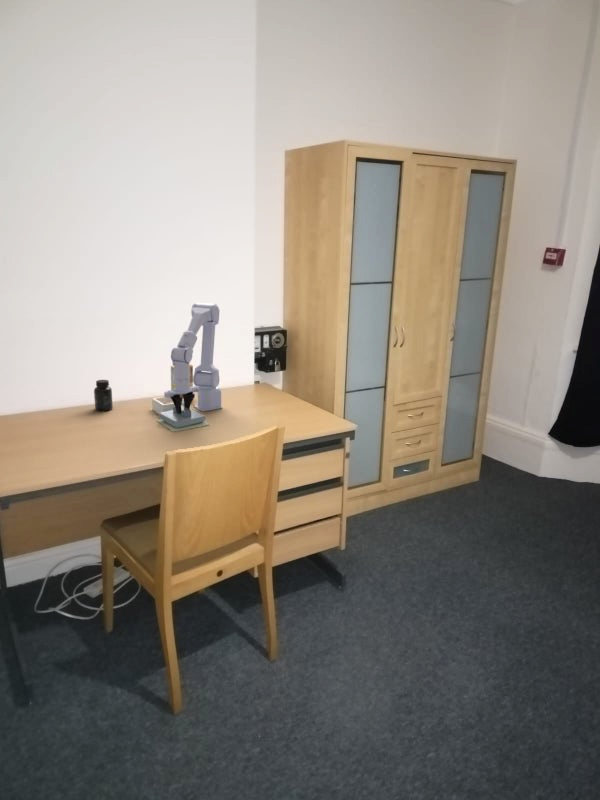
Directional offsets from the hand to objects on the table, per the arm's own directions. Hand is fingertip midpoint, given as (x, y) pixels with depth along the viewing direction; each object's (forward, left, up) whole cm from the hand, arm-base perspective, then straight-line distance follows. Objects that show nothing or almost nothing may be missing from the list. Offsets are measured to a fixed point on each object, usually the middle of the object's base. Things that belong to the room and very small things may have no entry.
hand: (182, 412), depth 220 cm
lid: (0, -1, -3) cm, 3 cm away
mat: (0, 0, -4) cm, 4 cm away
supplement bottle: (+20, -32, -5) cm, 38 cm away
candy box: (-14, -30, -5) cm, 33 cm away
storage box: (-2, -16, -4) cm, 17 cm away
